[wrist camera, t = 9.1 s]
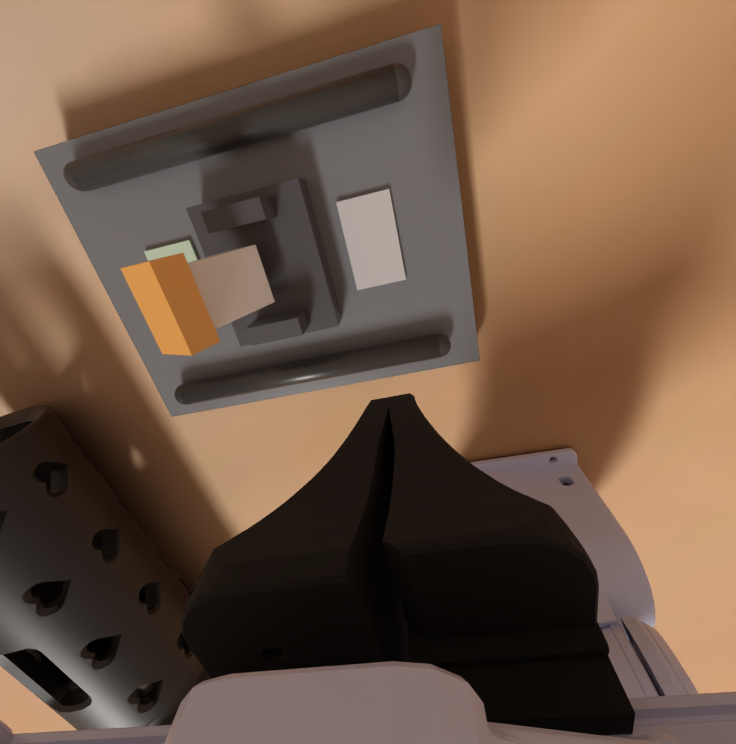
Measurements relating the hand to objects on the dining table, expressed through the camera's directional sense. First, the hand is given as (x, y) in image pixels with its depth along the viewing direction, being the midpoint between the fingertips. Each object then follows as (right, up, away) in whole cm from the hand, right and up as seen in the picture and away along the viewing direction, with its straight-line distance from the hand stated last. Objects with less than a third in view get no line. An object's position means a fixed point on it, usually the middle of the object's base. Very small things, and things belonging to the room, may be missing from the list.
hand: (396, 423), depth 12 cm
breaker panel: (-5, +8, +8) cm, 12 cm away
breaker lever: (-5, +6, +5) cm, 9 cm away
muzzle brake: (-18, -12, +19) cm, 29 cm away
